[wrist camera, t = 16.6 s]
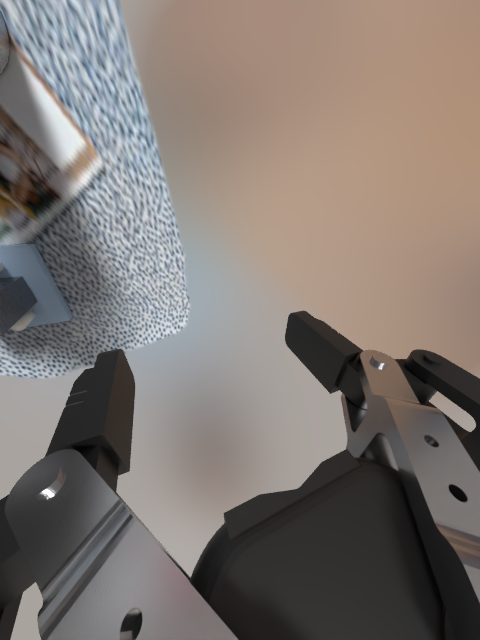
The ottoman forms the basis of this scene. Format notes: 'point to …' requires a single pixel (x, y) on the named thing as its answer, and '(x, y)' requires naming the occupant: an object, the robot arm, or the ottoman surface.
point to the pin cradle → (34, 285)
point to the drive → (14, 301)
